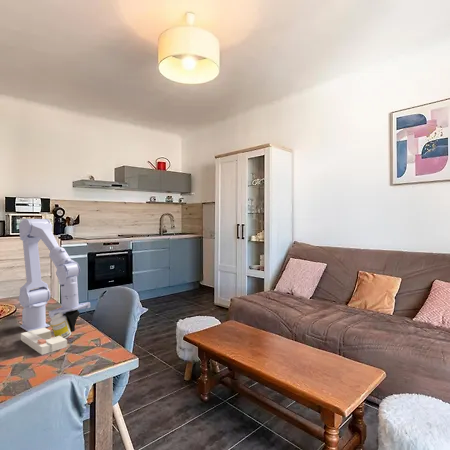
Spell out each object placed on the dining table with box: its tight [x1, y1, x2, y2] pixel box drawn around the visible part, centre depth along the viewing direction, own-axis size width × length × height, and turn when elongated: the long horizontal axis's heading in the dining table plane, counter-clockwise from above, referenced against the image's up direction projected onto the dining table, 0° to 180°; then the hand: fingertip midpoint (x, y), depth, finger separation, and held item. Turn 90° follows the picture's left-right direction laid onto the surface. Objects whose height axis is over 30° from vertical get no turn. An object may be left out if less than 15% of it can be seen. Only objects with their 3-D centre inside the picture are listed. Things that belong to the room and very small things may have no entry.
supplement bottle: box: [49, 312, 73, 340], centre depth 114 cm, size 5×5×10 cm
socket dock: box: [20, 327, 68, 356], centre depth 110 cm, size 19×8×3 cm, turn 51°
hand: (71, 331), depth 117 cm, fingers closed, pressing on supplement bottle
